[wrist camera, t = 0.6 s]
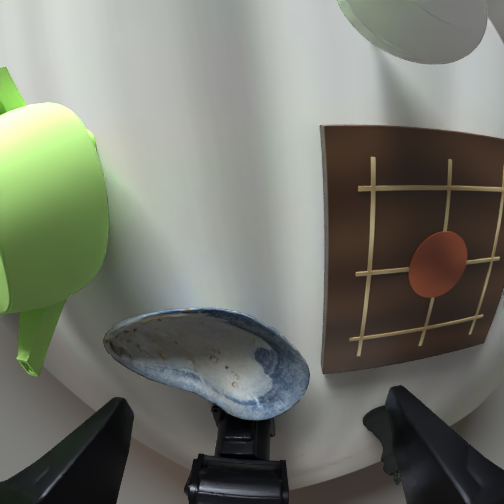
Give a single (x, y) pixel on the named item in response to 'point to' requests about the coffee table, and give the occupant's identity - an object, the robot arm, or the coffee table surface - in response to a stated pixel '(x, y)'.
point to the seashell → (214, 358)
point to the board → (409, 243)
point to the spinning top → (420, 27)
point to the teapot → (46, 216)
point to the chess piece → (383, 439)
